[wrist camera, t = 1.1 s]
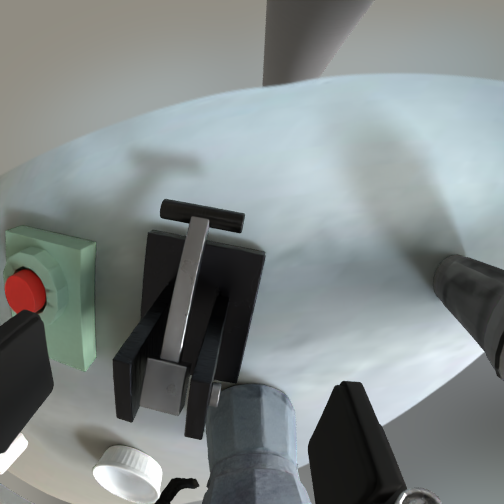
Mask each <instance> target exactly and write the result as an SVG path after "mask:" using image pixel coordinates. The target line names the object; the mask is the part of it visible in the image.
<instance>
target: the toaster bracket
mask: <svg viewBox="0 0 504 504" xmlns="http://www.w3.org/2000/svg"><path fill="white" fill-rule="evenodd" d="M185 240H186V236H182V235H177V234H172V233H167V232H162V231H157V230H152V231H150V232H148V237H147V246H146V255H145V265H144V276H143V289H142V303H141V321H140V322H139V323H138V325H137V326H136V327H135V329H134V330H133V332H132V333H131V334H130V336H129V337H128V339H127V340H126V341H125V343H124V344H123V346H122V347H121V348H120V350H119V351H118V353H117V354H116V356H115V357H114V358H113V379H114V392H115V405H116V416H117V418H119V419H122V420H125V421H128V422H133V420H134V418H135V416H136V413H137V411H138V409H139V407H140V405H139V404H140V397H141V391H142V384H143V378H144V372H145V367H146V361H147V358H148V357H152V356H155V355H161V349H162V344H163V339H164V334H165V329H166V324H167V319H168V314H169V309H170V305H171V300H172V295H173V291H174V286H175V282H176V277H177V273H178V269H179V264H180V260H181V256H182V252H183V248H184V244H185ZM265 257H266V256H265V252H264V251H259V250H253V249H248V248H243V247H238V246H233V245H228V244H223V243H218V242H213V241H208V240H207V241H206V245H205V250H204V254H203V259H202V263H201V268H200V272H199V277H198V281H197V286H196V291H195V295H194V300H193V305H192V310H191V315H190V320H189V325H188V330H187V335H186V340H185V345H184V350H183V355H182V361H185V362H189V363H192V366H191V371H190V375H192V378H191V382H190V390H189V398H188V407H187V415H186V424H185V434H184V435H185V437H189V438H194V439H199V440H201V439H202V437H203V432H204V427H205V422H206V416H207V411H208V406H213V407H217V406H218V401H219V395H220V390H221V383H216V382H213V381H214V380H219V381H224V382H230V383H235V384H236V383H237V381H238V376H239V372H240V368H241V363H242V359H243V355H244V350H245V346H246V342H247V337H248V333H249V329H250V324H251V320H252V315H253V311H254V306H255V302H256V297H257V293H258V288H259V284H260V279H261V275H262V270H263V266H264V261H265Z"/></svg>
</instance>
